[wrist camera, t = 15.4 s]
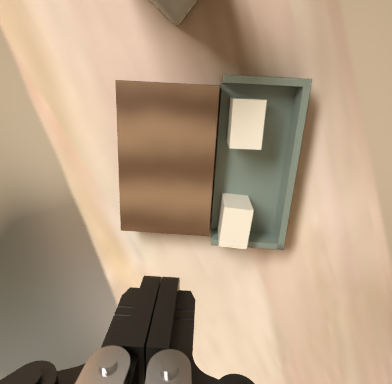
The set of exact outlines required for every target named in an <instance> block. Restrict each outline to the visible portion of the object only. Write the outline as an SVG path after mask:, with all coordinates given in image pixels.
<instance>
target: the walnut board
mask: <svg viewBox="0 0 392 384" xmlns="http://www.w3.org/2000/svg"><path fill="white" fill-rule="evenodd" d="M219 89H220V86H217V85H198V84H179V83H161V82H142V81H123V80H116V105H117V133H118V161H119V189H120V217H121V230H123V231H138V232H154V233H169V234H185V235H200V236H209V226H210V213H211V199H212V185H213V171H214V158H215V144H216V130H217V116H218V103H219Z"/></svg>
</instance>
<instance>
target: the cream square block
mask: <svg viewBox="0 0 392 384" xmlns="http://www.w3.org/2000/svg"><path fill="white" fill-rule="evenodd" d="M253 211H254V210H253V207H252V205H251V202H250V199H249V197H248V196H247V195H238V194H229V193H222V199H221V206H220V213H219V220H218V227H217V228H218V244H219V246H221V247H230V248H239V249H247V245H248V239H249V234H250V228H251V222H252V217H253Z"/></svg>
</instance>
